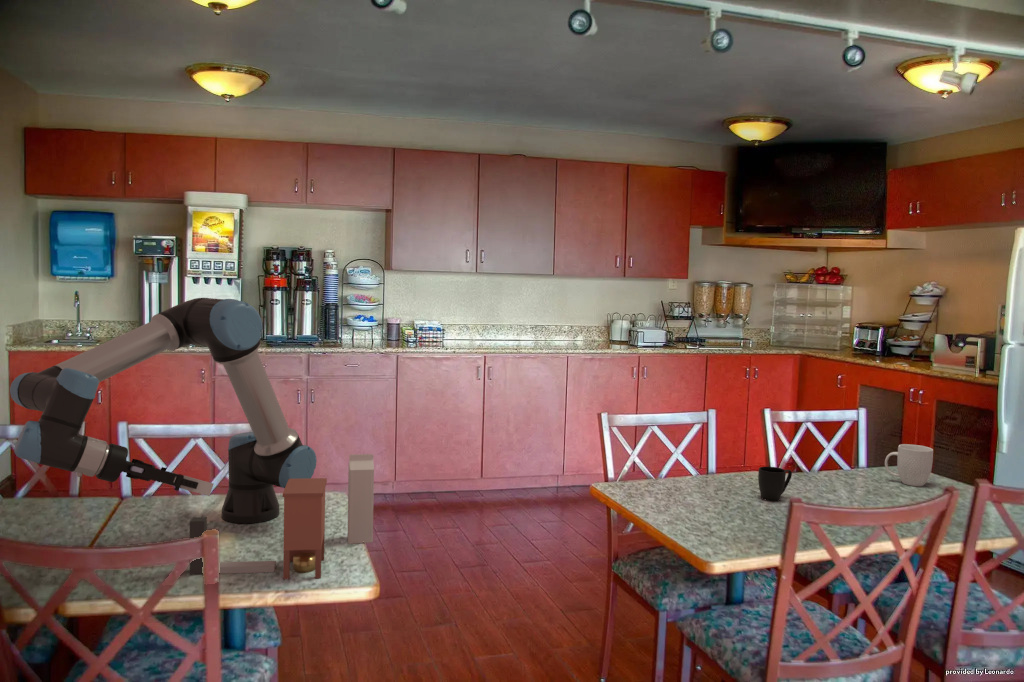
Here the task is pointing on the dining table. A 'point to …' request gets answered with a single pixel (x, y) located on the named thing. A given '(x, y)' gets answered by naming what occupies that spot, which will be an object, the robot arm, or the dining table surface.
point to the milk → (360, 498)
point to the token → (304, 562)
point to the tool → (196, 530)
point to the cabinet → (304, 521)
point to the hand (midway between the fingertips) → (202, 487)
